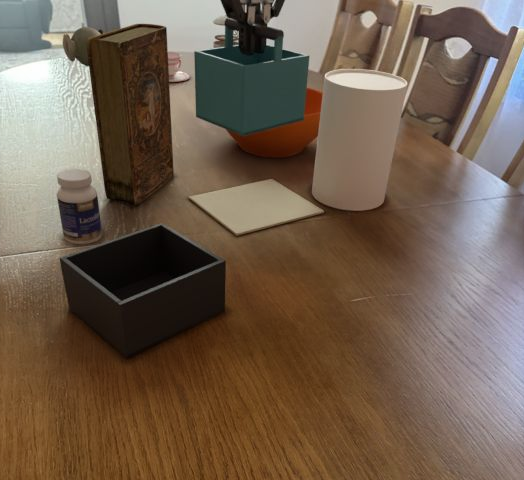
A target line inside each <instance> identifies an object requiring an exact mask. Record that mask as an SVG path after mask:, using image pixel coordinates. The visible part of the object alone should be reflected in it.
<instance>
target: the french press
mask: <svg viewBox="0 0 524 480" xmlns="http://www.w3.org/2000/svg"><path fill="white" fill-rule="evenodd" d="M226 18H228V17H227V15H226V14H225V15H220V16H218V17H216V18H215V19H214V20H212V23H213V24H214V25H216V26H222V27H225V20H226ZM238 35H239V31H235V30H233V46H234V45H238V41H239V40H238V38H239V37H238ZM214 39H215V41H213V48H219V47H225V34H217V35H214Z"/></svg>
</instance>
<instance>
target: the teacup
mask: <svg viewBox="0 0 524 480" xmlns="http://www.w3.org/2000/svg"><path fill="white" fill-rule="evenodd" d="M181 58H182V54H181V53H180V52H176V51H168V69H169V83H178V82H183V81H187V80H189V79H190V78H191V77H190V74H189V73H186V72H184V71H181V70H180V69H181V65H182V60H181ZM179 70H180V71H179Z"/></svg>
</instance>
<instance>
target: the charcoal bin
mask: <svg viewBox="0 0 524 480" xmlns="http://www.w3.org/2000/svg"><path fill="white" fill-rule="evenodd" d="M58 259H59V263H60V264H59V265H60V269H61V274H62V275H61V276H62V278H63V284H64V289H65V294H66V299H67V305H68V310H69V311H70V312H71V313H72V314H74V315H75V316H76V317H77V318H78V319H79V320H81V322H83V323H84V324H85V325H86V326H87V327H89V328H90V329H91V330H92V331H93V332H94V333H95V334H97V335H98V336H99V337H100V338H102V339H103V340H104V341H105V342H106V343H107V344H108V345H110V346H111V347H112V348H113V349H114V350H116V351H117V352H118V353H119V354H120V355H121V356H122V357H123V358H124V359H126V360H130V359H131V358H133V357H135V356H138V355H140V354H142V353H143V352H145V351H147V350H150V349H152V348H153V347H156V346H157V345H160V344H162V343H164V342H166V341H168V340H170V339H172V338H175V337H176V336H178V335H180V334H182V333H184V332H186V331H189V330H190V329H193V328H195V327H197V326H200V325H201V324H203V323H205V322H207V321H209V320H211V319H213V318H215V317H217V316H219V315H221V314H224V313H226V279H227V278H226V275H227V272H226V269H227V260H226V259H224V258H222V257H220V256H218V255H217V254H215V253H214V252H212V251H210V250H208V249H207V248H206V247H204V246H202V245H200V244H199V243H198V242H197V243H196V242H195V241H193V240H192V239H190V238H189V237H188V236H186V235H184V234H182V233H180V232H178V231H177V230H175V229H173V228H172V227H170V226H168V225H166V224H165V223H163V222H160V223H157V224H154V225H150V226H148V227H145V228H143V229H140V230H137V231H134V232H131V233H128V234H125V235H122V236H119V237H116V238H113V239H110V240H107V241H104V242H101V243H98V244H95V245H93V246H89V247H86V248H84V249H81V250H78V251H75V252H72V253H69V254H66V255H63V256H60V257H59V258H58Z"/></svg>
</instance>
